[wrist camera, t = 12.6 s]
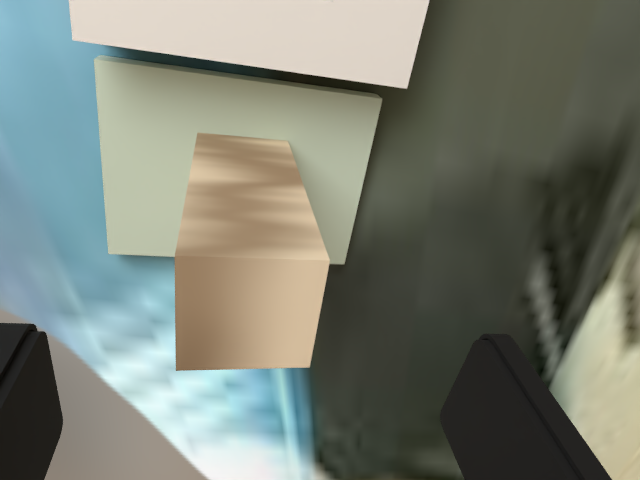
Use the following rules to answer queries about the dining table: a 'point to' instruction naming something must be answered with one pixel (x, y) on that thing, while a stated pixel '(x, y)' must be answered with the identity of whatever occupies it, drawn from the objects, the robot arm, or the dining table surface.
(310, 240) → the plug
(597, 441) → the dining table surface
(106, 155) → the mat
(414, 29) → the socket block
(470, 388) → the robot arm
